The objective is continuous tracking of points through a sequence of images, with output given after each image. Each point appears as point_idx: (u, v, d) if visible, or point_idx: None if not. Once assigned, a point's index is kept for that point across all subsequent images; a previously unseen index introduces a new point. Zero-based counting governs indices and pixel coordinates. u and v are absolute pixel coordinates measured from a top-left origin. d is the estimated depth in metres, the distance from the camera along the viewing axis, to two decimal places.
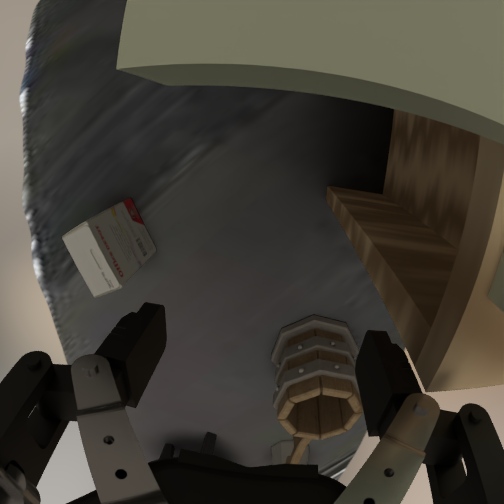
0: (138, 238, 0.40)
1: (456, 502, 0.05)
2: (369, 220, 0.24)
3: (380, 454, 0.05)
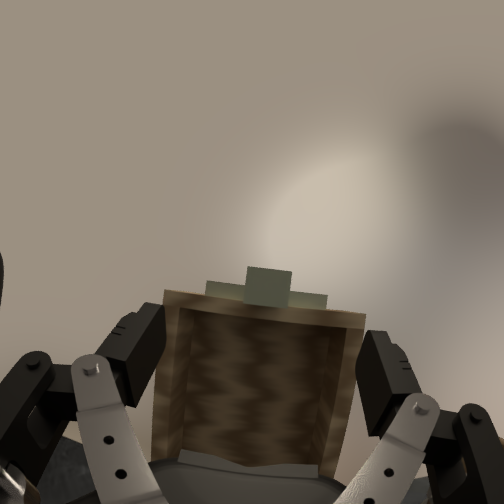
0: None
1: (456, 502, 0.05)
2: (319, 456, 0.28)
3: (380, 454, 0.05)
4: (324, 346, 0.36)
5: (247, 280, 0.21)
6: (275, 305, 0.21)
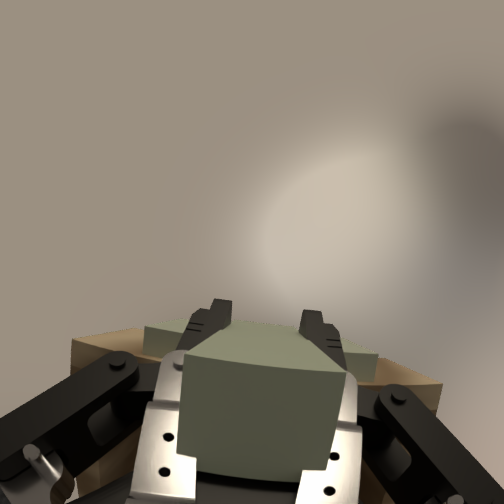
0: None
1: (410, 483, 0.06)
2: None
3: None
4: None
5: (185, 402, 0.05)
6: (283, 477, 0.05)
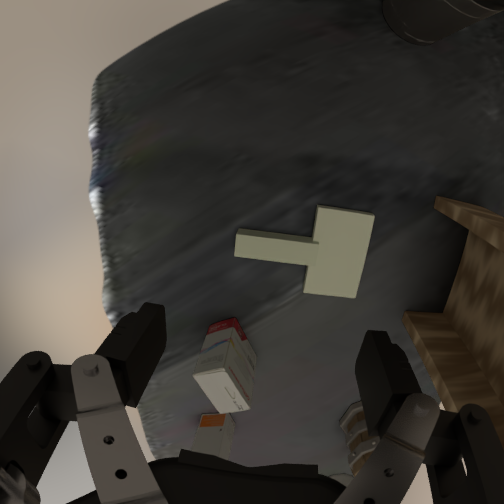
0: (248, 356, 0.46)
1: (456, 502, 0.05)
2: (449, 376, 0.30)
3: (380, 454, 0.05)
4: None
5: (237, 232, 0.41)
6: None
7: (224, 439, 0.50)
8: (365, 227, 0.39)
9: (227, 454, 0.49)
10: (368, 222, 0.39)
